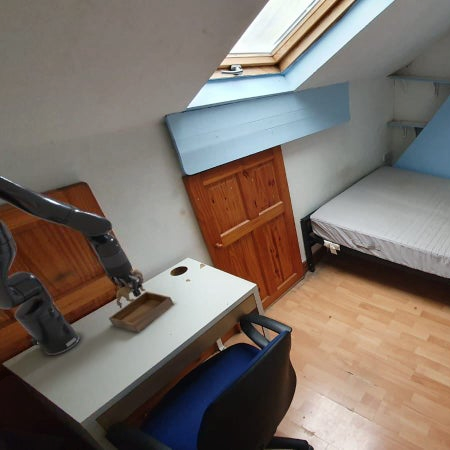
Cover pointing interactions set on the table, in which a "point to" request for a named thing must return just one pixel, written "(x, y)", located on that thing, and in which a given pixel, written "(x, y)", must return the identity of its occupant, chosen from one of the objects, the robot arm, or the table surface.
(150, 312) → the brown wooden shallow box
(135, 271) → the lion figurine
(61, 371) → the table surface
